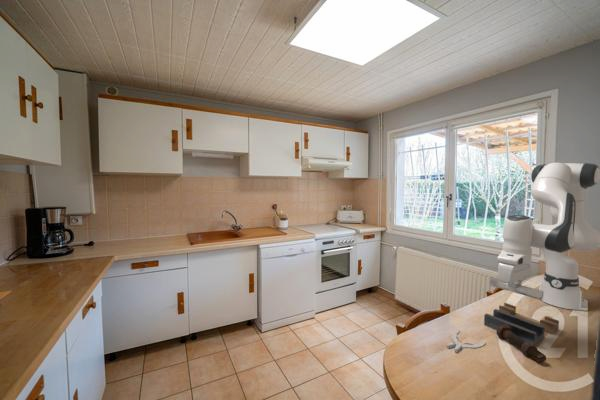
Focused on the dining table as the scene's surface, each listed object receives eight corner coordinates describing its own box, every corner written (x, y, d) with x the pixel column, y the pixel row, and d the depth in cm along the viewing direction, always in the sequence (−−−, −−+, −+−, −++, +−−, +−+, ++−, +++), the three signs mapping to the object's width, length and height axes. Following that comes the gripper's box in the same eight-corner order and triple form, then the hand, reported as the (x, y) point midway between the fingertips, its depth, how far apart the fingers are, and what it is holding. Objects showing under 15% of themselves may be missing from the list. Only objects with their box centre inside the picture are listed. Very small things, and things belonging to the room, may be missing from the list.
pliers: (486, 340, 92) (466, 355, 84) (486, 344, 92) (466, 359, 84) (458, 327, 100) (437, 339, 92) (457, 331, 100) (437, 343, 92)
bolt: (539, 370, 81) (500, 340, 96) (552, 362, 81) (511, 333, 96) (532, 356, 81) (493, 328, 96) (545, 348, 81) (505, 321, 96)
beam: (504, 311, 116) (505, 302, 116) (558, 330, 101) (559, 320, 100) (498, 314, 113) (499, 305, 113) (553, 334, 98) (553, 324, 97)
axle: (489, 286, 105) (489, 278, 105) (493, 284, 107) (493, 276, 107) (539, 301, 91) (540, 291, 91) (543, 298, 93) (543, 289, 93)
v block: (495, 318, 109) (495, 308, 109) (544, 337, 96) (544, 326, 95) (484, 325, 104) (484, 314, 104) (533, 346, 91) (534, 334, 90)
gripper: (517, 251, 106) (516, 282, 107) (495, 257, 96) (493, 292, 97) (536, 254, 101) (535, 287, 102) (515, 261, 91) (513, 298, 91)
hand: (514, 290), depth 99 cm, fingers closed on axle, 3 cm apart
